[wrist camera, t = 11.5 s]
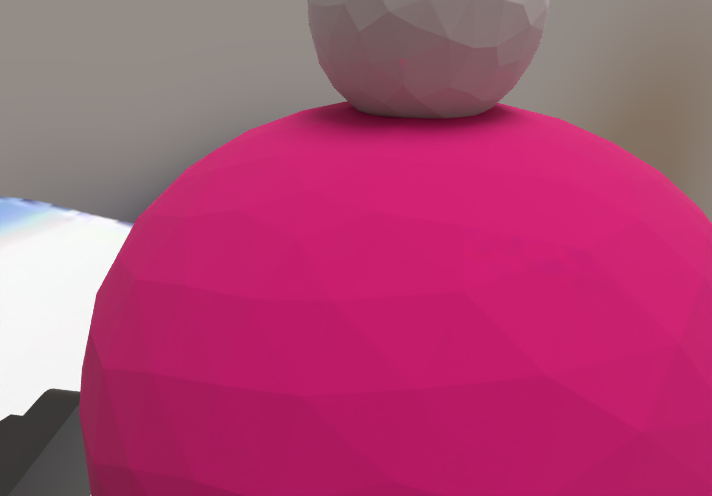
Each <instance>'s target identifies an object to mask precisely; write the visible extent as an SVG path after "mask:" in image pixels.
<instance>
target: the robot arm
mask: <svg viewBox="0 0 712 496" xmlns="http://www.w3.org/2000/svg"><path fill="white" fill-rule="evenodd" d="M79 405H80V392H77V391H69V390H60V389H49V390H47V391H46V392H44V393H43V394H42V395H41V396H40V398H39V399H38V400H37V401H36V402H35V403H34V404H33V405H32V406H31V408H30V409H29V410H28V411H27V412H26V413H25V414H24V415H23V416H19V415H9V416H8V417H6V418H4V419H3V420H1V421H0V496H90V495H91V490H90V483H89V477H88V470H87V463H86V456H85V449H84V443H83V436H82V429H81V422H80V415H79Z"/></svg>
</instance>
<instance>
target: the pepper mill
mask: <svg viewBox="0 0 712 496" xmlns="http://www.w3.org/2000/svg"><path fill="white" fill-rule="evenodd" d="M549 7H550V3H549V0H308V16H309V26H310V30H311V33H312V38H313V41H314V45H315V49H316V52H317V56H318V59H319V64H320V65H321V67H322V69H323V70H324V72H325V73H326V75H327V77H328V78H329V80H330V82H331V83H332V85H333V86H334V88H335V89H336V90H337V91H338V92H339V93H340V94H341V95H342V96H343V97H344V98H345V99H346V100H347V102H342V103H337V104H332V105H328V106H323V107H318V108H313V109H308V110H303V111H300V112H298V113H295V114H292V115H290V116H287V117H284V118H281V119H279V120H276V121H273V122H271V123H267V124H265V125H262V126H260V127H257V128H254V129H251V130H248V131H247V132H245V133H243V134H242V135H240V136H239V137H237V138H235V139H233V140H231V141H230V142H228V143H226V144H225V145H223V146H221V147H220V148H218V149H216V150H215V151H213V152H212V153H210V154H209V155H207V156H205V157H204V158H203V159H201V160H199V161H198V162H196V163H195V164H193V165H192V166H191V167H189V168H188V169H186V170H185V171H184V172H183V173H182V174H181V175H180V176H179V177H178V178H177V179H176V180H175V181H174V182H173V183H172V184H171V185H170V186H169V187H168V188H167V189H166V190H165V191H164V192H163V193H162V194H161V195H160V196H159V197H158V198H157V200H155V201H154V202H153V203H152V204H151V205H150V206H149V207H148V208H147V209H146V210H145V211H144V212H143V213H142V214H141V215H140V217H138V218H137V220H136V222H135V224H134V226H133V227H132V229H131V231H130V233H129V235H128V237H127V238H126V240H125V242H124V244H123V246H122V248H121V250H120V251H119V253H118V255H117V257H116V259H115V261H114V263H113V264H112V266H111V268H110V270H109V272H108V274H107V276H106V277H105V279H104V281H103V283H102V285H101V287H100V288H99V290H98V292H97V294H96V300H95V305H94V310H93V315H92V320H91V325H90V330H89V336H88V341H87V346H86V351H85V356H84V361H83V366H82V377H81V391H80V405H79V415H80V422H81V429H82V436H83V443H84V449H85V456H86V463H87V470H88V477H89V483H90V490H91V496H712V223H711V222H710V221H709V219H708V218H707V217H706V216H705V214H704V213H703V212H702V210H701V209H700V208H699V207H698V206H697V205H696V204H695V203H694V202H693V201H692V200H690V199H689V198H688V197H687V196H686V195H685V194H684V193H683V192H682V191H681V190H679V189H678V188H677V187H676V186H675V185H674V184H673V183H672V182H671V181H670V180H669V179H668V178H667V177H665V176H664V175H663V174H662V173H661V172H660V171H658V170H656V169H655V168H653V167H652V166H650V165H648V164H647V163H645V162H643V161H642V160H640V159H639V158H637V157H635V156H634V155H632V154H630V153H629V152H627V151H626V150H624V149H622V148H621V147H619V146H617V145H616V144H614V143H612V142H610V141H608V140H606V139H604V138H601V137H599V136H597V135H595V134H592V133H590V132H588V131H586V130H583V129H581V128H579V127H577V126H575V125H572V124H570V123H568V122H566V121H563V120H561V119H558V118H554V117H550V116H546V115H542V114H539V113H535V112H531V111H527V110H523V109H519V108H515V107H511V106H508V105H504V104H500V103H497V102H498V101H500V99H502V98H503V97H504V96H505V95H506V94H507V93H508V92H509V91H510V90H511V89H512V88H513V87H514V86H515V85H516V83H517V82H518V80H519V79H520V77H521V76H522V74H523V73H524V72H525V70H526V69H527V67H528V66H529V64H530V63H531V61H532V59H533V57H534V55H535V53H536V51H537V49H538V47H539V44H540V40H541V37H542V33H543V30H544V26H545V22H546V18H547V15H548V10H549Z"/></svg>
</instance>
